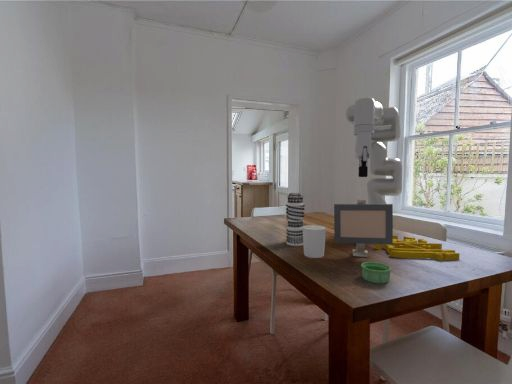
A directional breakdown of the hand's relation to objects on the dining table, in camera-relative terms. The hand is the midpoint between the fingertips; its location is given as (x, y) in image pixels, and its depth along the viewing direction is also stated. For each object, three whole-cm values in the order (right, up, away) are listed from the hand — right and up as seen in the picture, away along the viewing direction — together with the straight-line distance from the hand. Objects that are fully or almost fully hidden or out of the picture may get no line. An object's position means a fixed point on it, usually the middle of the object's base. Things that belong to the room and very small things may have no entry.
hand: (362, 176), depth 108 cm
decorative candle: (-24, -32, +25) cm, 47 cm away
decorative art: (+27, -33, +15) cm, 45 cm away
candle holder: (-19, -33, +6) cm, 38 cm away
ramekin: (-4, -35, -20) cm, 40 cm away
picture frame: (+1, -27, +2) cm, 27 cm away
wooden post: (+1, -33, +6) cm, 33 cm away
